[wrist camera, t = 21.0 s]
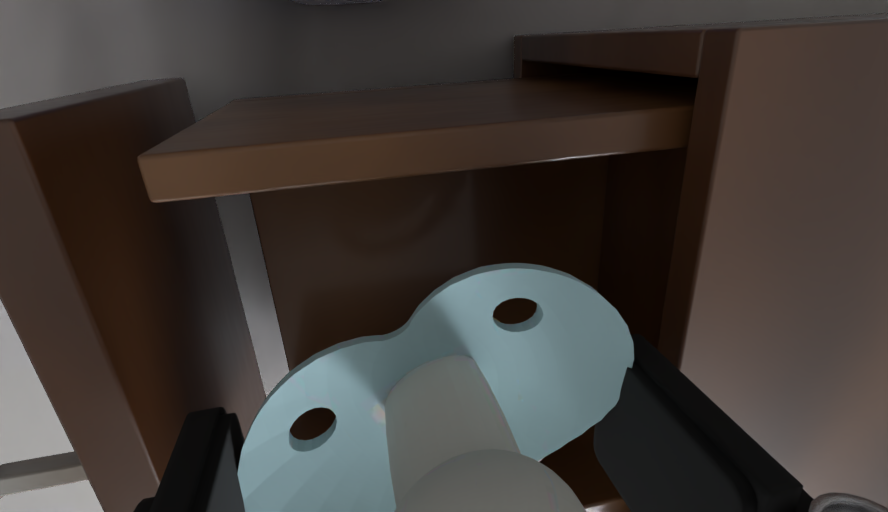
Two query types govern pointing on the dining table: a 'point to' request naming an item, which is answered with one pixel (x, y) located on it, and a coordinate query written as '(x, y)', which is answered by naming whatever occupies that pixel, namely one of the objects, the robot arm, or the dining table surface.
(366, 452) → the pacifier
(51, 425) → the dining table surface
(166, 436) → the drawer
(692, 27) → the cabinet
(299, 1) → the bowl
